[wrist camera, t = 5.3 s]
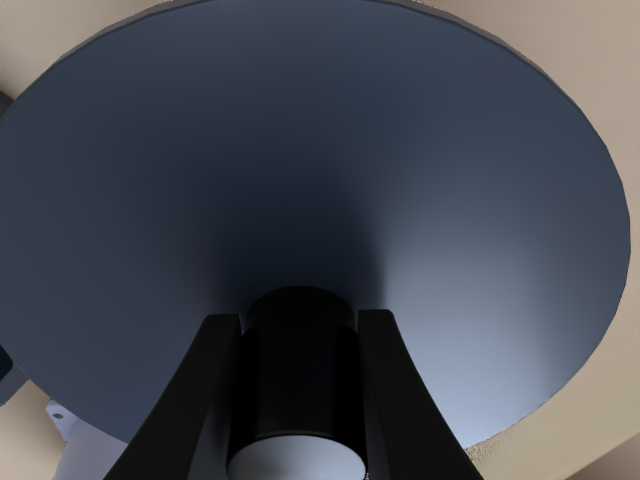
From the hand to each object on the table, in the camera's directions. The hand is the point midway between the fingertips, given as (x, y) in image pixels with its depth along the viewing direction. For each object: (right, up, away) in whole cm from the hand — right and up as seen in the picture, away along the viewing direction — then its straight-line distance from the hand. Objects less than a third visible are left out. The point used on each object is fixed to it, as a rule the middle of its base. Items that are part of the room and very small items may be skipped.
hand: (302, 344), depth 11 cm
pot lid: (0, +1, +1) cm, 1 cm away
